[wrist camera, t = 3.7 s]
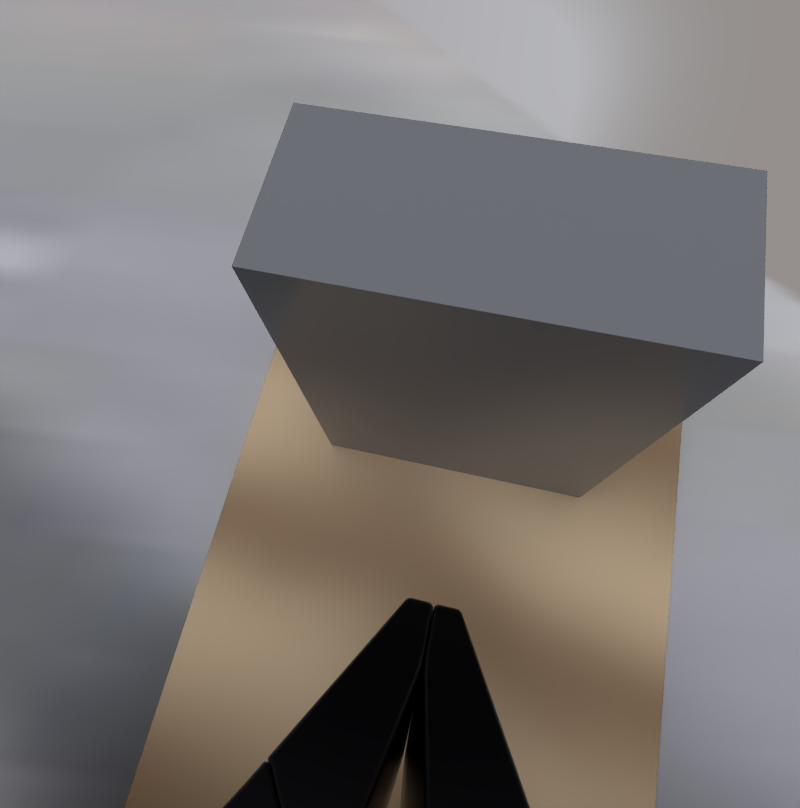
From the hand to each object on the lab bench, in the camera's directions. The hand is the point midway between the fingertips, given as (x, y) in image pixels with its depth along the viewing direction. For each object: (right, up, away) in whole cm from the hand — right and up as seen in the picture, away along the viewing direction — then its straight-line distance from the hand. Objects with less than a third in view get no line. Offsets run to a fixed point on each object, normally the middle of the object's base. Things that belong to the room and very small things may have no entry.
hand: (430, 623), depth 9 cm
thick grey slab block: (+1, +3, +8) cm, 8 cm away
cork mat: (0, -2, +6) cm, 7 cm away
